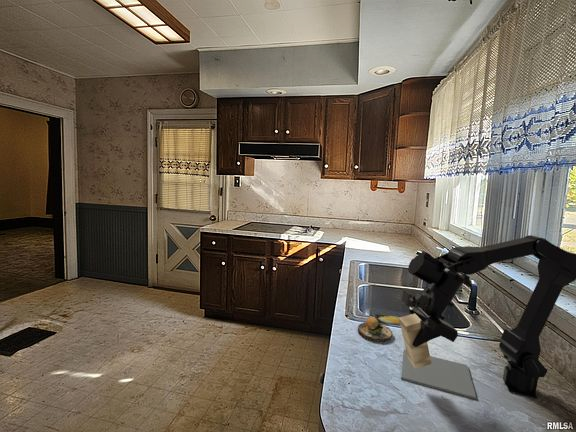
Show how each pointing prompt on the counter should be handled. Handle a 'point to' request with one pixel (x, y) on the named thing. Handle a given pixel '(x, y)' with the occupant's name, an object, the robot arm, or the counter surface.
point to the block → (410, 330)
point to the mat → (440, 376)
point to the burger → (374, 331)
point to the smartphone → (387, 319)
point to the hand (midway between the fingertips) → (409, 340)
